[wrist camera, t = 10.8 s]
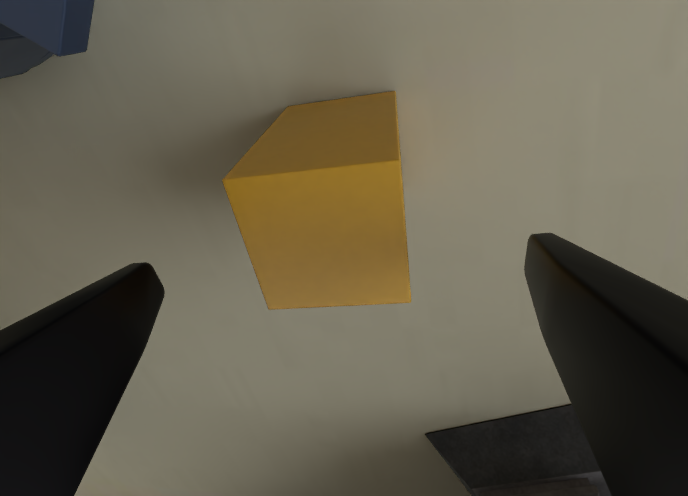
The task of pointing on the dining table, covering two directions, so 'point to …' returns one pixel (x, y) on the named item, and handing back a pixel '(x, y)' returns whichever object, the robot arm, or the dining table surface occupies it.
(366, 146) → the block
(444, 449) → the juicer
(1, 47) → the pot
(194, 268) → the dining table surface
